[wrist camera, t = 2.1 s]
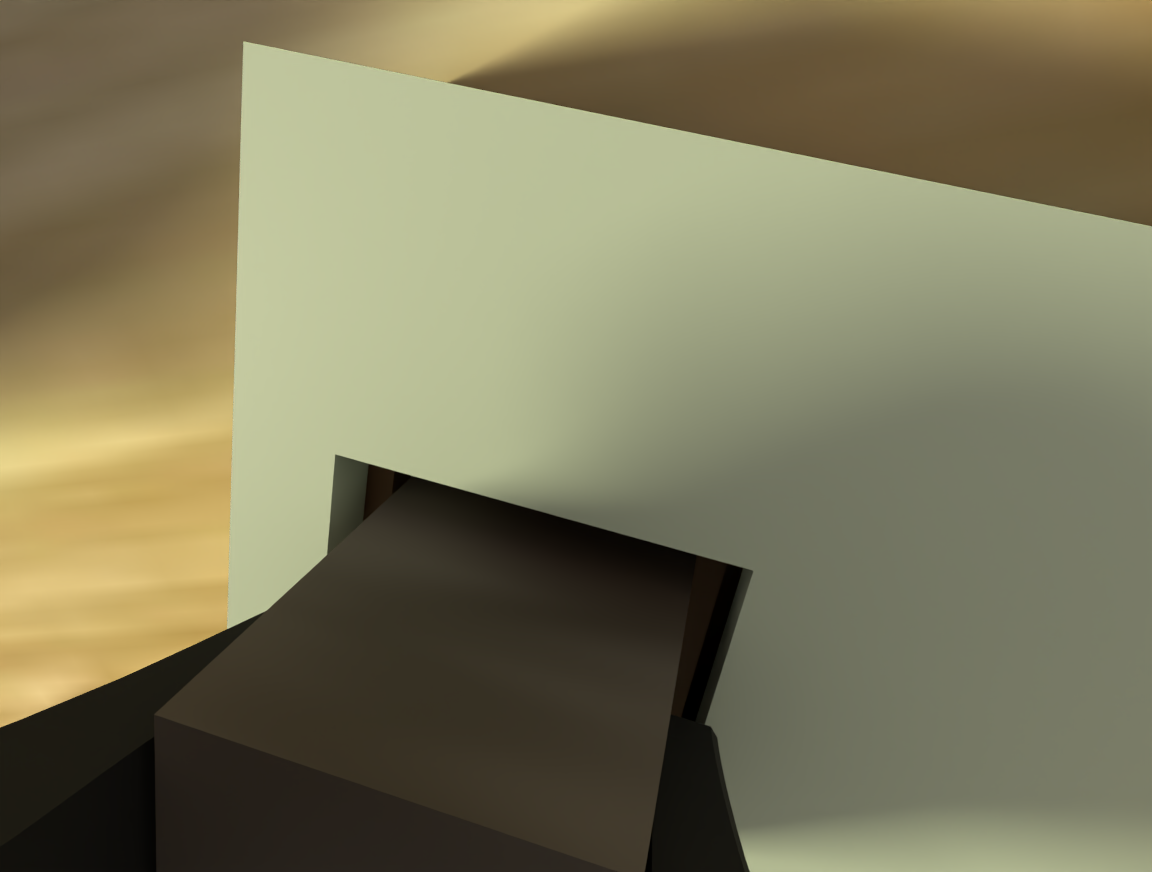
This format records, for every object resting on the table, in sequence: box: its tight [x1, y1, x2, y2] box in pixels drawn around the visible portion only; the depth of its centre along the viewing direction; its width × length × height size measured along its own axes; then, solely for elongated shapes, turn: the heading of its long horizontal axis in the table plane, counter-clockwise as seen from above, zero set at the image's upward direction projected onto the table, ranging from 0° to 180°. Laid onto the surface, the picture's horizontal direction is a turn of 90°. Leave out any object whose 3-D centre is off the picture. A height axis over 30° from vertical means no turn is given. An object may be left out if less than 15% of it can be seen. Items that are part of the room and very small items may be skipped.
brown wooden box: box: [363, 464, 743, 722], centre depth 13 cm, size 18×14×4 cm
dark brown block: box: [154, 476, 697, 872], centre depth 9 cm, size 4×4×6 cm
